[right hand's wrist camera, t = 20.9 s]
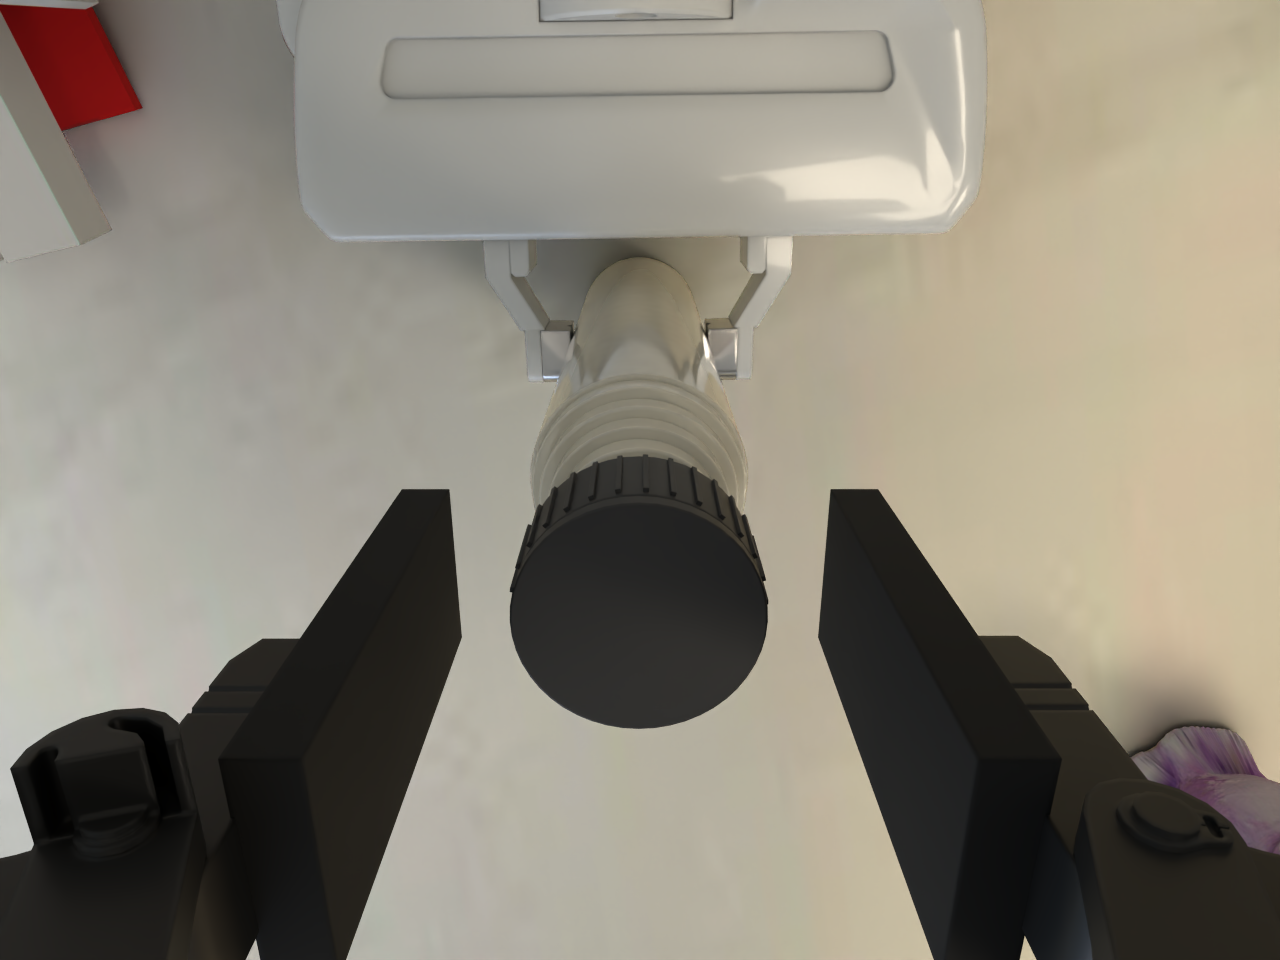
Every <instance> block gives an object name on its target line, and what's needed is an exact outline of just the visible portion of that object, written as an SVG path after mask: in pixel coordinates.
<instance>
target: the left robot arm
mask: <svg viewBox="0 0 1280 960" xmlns="http://www.w3.org/2000/svg"><path fill="white" fill-rule="evenodd" d="M276 4H277V11H278V18H279V24H280V29H281V32H282V35H283V38H284V41H285V44H286V46H287V48H288V49H289V51H290V53H291V54H292V56H293V57H294V135H295V152H296V166H297V177H298V187H299V195H300V200H301V205H302V207H303V210H304V211H305V213H306V214H307V216H308V217H309V218H310V219H311V220H312V221H313V222H314V223H315V224H316V226H317V227H318V228H319V229H320V230H321V231H322V232H323V233H324V234H325V235H326V236H327V237H328V238H329V239H330V240H332V241H335V242H398V241H468V240H483V249H484V262H485V275H486V279H487V281H488V282H489V284H490V285H491V287H492V288H493V290H494V291H495V293H496V294H497V296H498V297H499V299H500V300H501V302H502V303H503V305H504V306H505V308H506V309H507V311H508V312H509V314H510V315H511V317H512V318H513V320H514V321H515V323H516V324H517V326H518V327H519V329H520V330H521V331H525V344H526V360H527V375H528V379H529V382H542V383H543V382H557V380H558V377H559V374H560V371H561V369H562V366H563V363H564V360H565V357H566V354H567V351H568V348H569V345H570V342H571V340H572V337H573V334H574V321H567V320H550V319H549V317H548V315H547V314H546V312H545V310H544V309H543V307H542V305H541V304H540V302H539V300H538V299H537V297H536V295H535V294H534V292H533V291H532V289H531V287H530V286H529V284H528V282H527V281H526V279H525V277H527V275H528V274H529V273H530V272H531V271H532V270H533V268H534V267H535V266H536V265H537V255H536V240H539V239H609V238H680V237H740V262H741V263H742V264H743V266H744V267H745V268H746V269H747V270H748V271H749V272H750V273H751V274H753V275H752V276H751V278H750V280H749V282H748V283H747V285H746V287H745V289H744V290H743V292H742V294H741V295H740V297H739V299H738V301H737V302H736V304H735V306H734V308H733V309H732V311H731V313H730V314H729V318H712V319H705V329H704V331H705V334H706V337H707V340H708V343H709V346H710V349H711V352H712V355H713V358H714V361H715V364H716V367H717V370H718V373H719V375H720V378H721V380H735V379H736V380H748V379H751V375H752V365H753V335H754V328H757V327H758V326H759V325H760V323H761V321H762V320H763V318H764V317H765V315H766V313H767V312H768V310H769V309H770V307H771V305H772V304H773V302H774V301H775V299H776V297H777V296H778V294H779V293H780V291H781V289H782V288H783V286H784V285H785V283H786V282H787V280H788V278H789V277H790V275H791V267H792V248H793V236H820V235H891V234H942V233H946V232H948V231H950V230H951V229H952V228H953V227H954V226H955V225H956V224H957V223H958V222H959V220H960V219H961V218H962V217H963V216H964V215H965V213H966V212H967V211H968V210H969V208H970V207H971V206H972V205H973V203H974V202H975V200H976V198H977V196H978V193H979V189H980V183H981V176H982V170H983V160H984V149H985V135H986V118H987V83H988V68H987V31H986V20H985V13H984V8H983V4H982V0H276Z"/></svg>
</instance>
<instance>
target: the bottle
mask: <svg viewBox="0 0 1280 960" xmlns="http://www.w3.org/2000/svg"><path fill="white" fill-rule="evenodd" d="M643 454H647V455H648V457H656V458H661V459H667V460H668V458H672V459H673V460H674V462H677V463H680V464H683V465H686V466H688V467H690V468H691V467H692V466H694V467H696V468H697V471H699V472H700V473H702V474H703V475H705V476H706V477H708V478H710V479H711V480H713V479H715V480H717V481H718V485H719V487H720V488H722V489H723V490H724V492H725V493H726V494H727V495H728V496H731V495H732V496H733V497H734V498H735V502H736V506H737V508H738V510H739V511H740V513H741V515H742V513H743V509H744V505H745V499H746V492H747V483H748V466H747V459H746V454H745V449H744V446H743V444H742V441H741V438H740V435H739V432H738V429H737V426H736V423H735V420H734V417H733V414H732V411H731V408H730V405H729V402H728V399H727V396H726V393H725V390H724V387H723V384H722V381H721V378H720V375H719V373H718V370H717V367H716V364H715V361H714V358H713V355H712V352H711V349H710V346H709V343H708V340H707V337H706V334H705V331H704V328H703V325H702V322H701V319H700V316H699V313H698V310H697V307H696V305H695V302H694V299H693V296H692V293H691V290H690V288H689V286H688V284H687V283H686V281H685V280H684V279H683V277H682V276H681V275H680V274H679V273H678V272H677V271H676V270H674V269H673V268H672V267H670V266H669V265H667V264H665V263H663V262H661V261H658V260H655V259H651V258H646V257H635V258H628V259H624V260H621V261H618V262H616V263H614V264H612V265H610V266H609V267H608V268H606V269H605V270H604V271H602V272H601V273H600V274H599V275H598V277H597V278H596V279H595V280H594V282H593V283H592V285H591V287H590V289H589V291H588V293H587V296H586V299H585V302H584V305H583V308H582V311H581V313H580V316H579V319H578V322H577V325H576V328H575V331H574V334H573V337H572V340H571V342H570V345H569V348H568V351H567V354H566V357H565V360H564V363H563V366H562V369H561V371H560V374H559V377H558V380H557V383H556V386H555V389H554V392H553V395H552V398H551V400H550V403H549V406H548V409H547V412H546V415H545V418H544V421H543V424H542V427H541V429H540V432H539V435H538V438H537V441H536V444H535V448H534V451H533V455H532V461H531V488H532V496H533V503H534V508H535V512H536V508H537V506H538V505H539V504H540V505H543V503H544V502H545V501H546V499H547V498H548V497H549V496H550V493H551V489H552V488H553V487H554V486H555V487H559V486H560V485H561V484H562V483H563V482H564V481H566V480H567V479H568V478H570V474H571V473H573V472H575V473H578V472H579V471H581V470H583V469H585V468H588V467H590V466H592V464H593V462H596V461H598V463H600V462H604V461H607V460H611V459H616V458H617V456H621V455H622V456H623V457H634V456H643Z"/></svg>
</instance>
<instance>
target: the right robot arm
mask: <svg viewBox="0 0 1280 960" xmlns="http://www.w3.org/2000/svg"><path fill="white" fill-rule="evenodd" d="M461 638H462V634H461V622H460V610H459V599H458V587H457V575H456V563H455V551H454V539H453V527H452V516H451V504H450V492H449V489H402V490H401V491H400V493H399V494H398V496H397V497H396V499H395V500H394V502H393V503H392V505H391V506H390V508H389V509H388V510H387V512H386V513H385V515H384V516H383V518H382V519H381V521H380V522H379V524H378V525H377V527H376V528H375V530H374V531H373V532H372V534H371V535H370V537H369V538H368V540H367V541H366V543H365V544H364V546H363V547H362V549H361V550H360V551H359V553H358V554H357V556H356V557H355V559H354V560H353V562H352V563H351V565H350V566H349V568H348V569H347V571H346V572H345V573H344V575H343V576H342V578H341V579H340V581H339V582H338V584H337V585H336V587H335V588H334V590H333V591H332V592H331V594H330V595H329V597H328V598H327V600H326V601H325V603H324V604H323V606H322V607H321V609H320V610H319V611H318V613H317V614H316V616H315V617H314V619H313V620H312V622H311V623H310V625H309V626H308V628H307V629H306V631H305V632H304V633H303V635H302V636H301V638H300V639H261V640H260V641H258V642H257V643H255V644H254V645H252V646H251V647H249V648H248V649H246V650H245V651H243V652H242V653H240V654H239V655H237V656H236V657H234V658H233V659H231V660H230V661H229V662H228V663H227V664H226V666H225V667H224V668H223V669H222V671H221V672H220V673H219V674H218V676H217V677H216V678H215V680H214V681H213V682H212V683H211V685H210V686H209V691H208V692H204V693H203V695H202V696H201V697H200V699H199V700H198V701H197V702H196V704H195V705H194V706H193V707H192V713H188V714H187V715H186V716H185V718H184V719H183V720H182V721H181V723H180V724H179V723H178V722H176V721H175V720H174V719H173V718H172V717H170V716H169V715H168V714H167V713H165V712H160V711H155V710H150V709H145V708H136V709H120V710H112V711H108V712H104V713H100V714H96V715H92V716H88V717H85V718H81V719H79V720H77V721H75V722H72V723H70V724H68V725H66V726H63V727H61V728H59V729H57V730H54V731H52V732H51V733H49V734H48V735H46V736H45V737H43V738H42V739H40V740H39V741H37V742H36V743H35V744H33V745H32V746H30V747H29V748H27V749H26V750H25V751H24V753H23V754H22V755H21V756H20V757H19V759H18V760H17V761H16V762H15V763H14V765H13V766H12V767H11V768H10V770H11V773H12V776H13V779H14V782H15V785H16V788H17V792H18V795H19V798H20V801H21V804H22V807H23V811H24V814H25V817H26V820H27V823H28V826H29V829H30V833H31V836H32V839H33V842H34V846H33V848H32V850H31V851H28V852H24V853H21V854H17V855H13V856H9V857H4V858H0V960H246V958H247V956H248V954H249V952H250V949H251V947H252V945H253V943H254V941H255V939H256V941H257V946H258V950H259V955H260V960H346V958H347V956H348V953H349V950H350V947H351V944H352V942H353V939H354V936H355V933H356V930H357V928H358V925H359V922H360V919H361V917H362V914H363V911H364V908H365V905H366V903H367V900H368V897H369V894H370V891H371V889H372V886H373V883H374V880H375V878H376V875H377V872H378V869H379V866H380V864H381V861H382V858H383V855H384V852H385V850H386V847H387V844H388V841H389V839H390V836H391V833H392V830H393V827H394V825H395V822H396V819H397V816H398V814H399V811H400V808H401V805H402V802H403V800H404V797H405V794H406V791H407V788H408V786H409V783H410V780H411V777H412V775H413V772H414V769H415V766H416V763H417V761H418V758H419V755H420V752H421V749H422V747H423V744H424V741H425V738H426V736H427V733H428V730H429V727H430V724H431V722H432V719H433V716H434V713H435V710H436V708H437V705H438V702H439V699H440V697H441V694H442V691H443V688H444V685H445V683H446V680H447V677H448V674H449V671H450V669H451V666H452V663H453V660H454V658H455V655H456V652H457V649H458V646H459V644H460V641H461ZM818 638H819V641H820V644H821V646H822V649H823V652H824V655H825V658H826V660H827V663H828V666H829V669H830V671H831V674H832V677H833V680H834V683H835V685H836V688H837V691H838V694H839V697H840V699H841V702H842V705H843V708H844V710H845V713H846V716H847V719H848V722H849V724H850V727H851V730H852V733H853V736H854V738H855V741H856V744H857V747H858V749H859V752H860V755H861V758H862V761H863V763H864V766H865V769H866V772H867V775H868V777H869V780H870V783H871V786H872V788H873V791H874V794H875V797H876V800H877V802H878V805H879V808H880V811H881V814H882V816H883V819H884V822H885V825H886V827H887V830H888V833H889V836H890V839H891V841H892V844H893V847H894V850H895V852H896V855H897V858H898V861H899V864H900V866H901V869H902V872H903V875H904V878H905V880H906V883H907V886H908V889H909V891H910V894H911V897H912V900H913V903H914V905H915V908H916V911H917V914H918V917H919V919H920V922H921V925H922V928H923V930H924V933H925V936H926V939H927V942H928V944H929V947H930V950H931V953H932V956H933V958H934V960H1020V955H1021V950H1022V946H1023V941H1024V936H1025V937H1026V939H1027V941H1028V943H1029V945H1030V947H1031V949H1032V951H1033V953H1034V955H1035V957H1036V959H1037V960H1280V855H1279V854H1275V853H1270V852H1266V851H1262V850H1259V849H1255V848H1252V847H1248V846H1247V844H1246V842H1245V841H1244V839H1243V838H1242V837H1241V835H1240V834H1239V832H1238V831H1237V830H1236V828H1235V827H1234V825H1233V824H1232V822H1230V821H1229V820H1228V819H1227V818H1225V817H1224V816H1223V815H1222V814H1220V813H1219V812H1218V811H1217V810H1215V809H1214V808H1213V807H1211V806H1210V805H1209V804H1208V803H1206V802H1204V801H1202V800H1200V799H1198V798H1196V797H1194V796H1192V795H1190V794H1188V793H1186V792H1184V791H1182V790H1180V789H1178V788H1175V787H1171V786H1168V785H1164V784H1161V783H1157V782H1154V781H1151V780H1148V779H1147V778H1146V776H1145V775H1144V774H1143V773H1142V771H1141V770H1140V769H1139V768H1138V766H1137V765H1136V764H1135V763H1134V761H1133V760H1132V759H1131V758H1130V756H1129V755H1128V754H1127V753H1126V751H1125V750H1124V749H1123V747H1122V746H1121V745H1120V744H1119V742H1118V741H1117V740H1116V739H1115V737H1114V736H1113V735H1112V734H1111V732H1110V731H1109V730H1108V729H1107V727H1106V726H1105V725H1104V724H1103V722H1102V721H1101V720H1100V719H1099V717H1098V716H1097V715H1096V714H1095V712H1094V711H1093V710H1089V707H1088V706H1089V705H1088V703H1087V702H1086V701H1085V700H1084V698H1083V697H1082V696H1081V695H1080V693H1079V692H1078V691H1077V690H1076V689H1072V686H1071V685H1072V683H1071V682H1070V681H1069V680H1068V678H1067V677H1066V676H1065V675H1064V673H1063V672H1062V671H1061V670H1060V668H1059V667H1058V666H1057V665H1056V663H1055V662H1054V661H1053V659H1052V658H1051V657H1049V656H1048V655H1046V654H1045V653H1043V652H1042V651H1040V650H1038V649H1037V648H1035V647H1034V646H1032V645H1031V644H1029V643H1028V642H1026V641H1025V640H1023V639H1022V638H1020V637H1019V636H978V635H977V633H976V632H975V631H974V629H973V628H972V626H971V625H970V623H969V622H968V620H967V619H966V617H965V616H964V614H963V613H962V611H961V610H960V609H959V607H958V606H957V604H956V603H955V601H954V600H953V598H952V597H951V595H950V594H949V592H948V591H947V590H946V588H945V587H944V585H943V584H942V582H941V581H940V579H939V578H938V576H937V575H936V573H935V572H934V571H933V569H932V568H931V566H930V565H929V563H928V562H927V560H926V559H925V557H924V556H923V554H922V553H921V551H920V550H919V549H918V547H917V546H916V544H915V543H914V541H913V540H912V538H911V537H910V535H909V534H908V532H907V531H906V530H905V528H904V527H903V525H902V524H901V522H900V521H899V519H898V518H897V516H896V515H895V513H894V512H893V510H892V509H891V508H890V506H889V505H888V503H887V502H886V500H885V499H884V497H883V496H882V494H881V493H880V491H879V490H878V489H831V492H830V504H829V515H828V527H827V539H826V551H825V563H824V575H823V587H822V599H821V610H820V622H819V634H818Z"/></svg>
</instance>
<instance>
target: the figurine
mask: <svg viewBox="0 0 1280 960" xmlns="http://www.w3.org/2000/svg"><path fill="white" fill-rule="evenodd" d="M1131 759H1132V760H1133V761H1134V763H1135V764H1136V765H1137V766H1138V768H1139V769H1140V770H1141V771H1142V773H1143V774H1144V775H1145V776H1146V778H1147V779H1148V780H1151V781H1154V782H1157V783H1161V784H1164V785H1168V786H1171V787H1175V788H1178V789H1180V790H1182V791H1184V792H1186V793H1188V794H1190V795H1192V796H1194V797H1196V798H1198V799H1200V800H1202V801H1204V802H1206V803H1208V804H1209V805H1210V806H1211V807H1213V808H1214V809H1215V810H1217V811H1218V812H1219V813H1220V814H1222V815H1223V816H1224V817H1225V818H1227V819H1228V820H1229V821H1230V822H1232V824H1233V825H1234V827H1235V828H1236V830H1237V831H1238V832H1239V834H1240V835H1241V837H1242V838H1243V839H1244V841H1245V842H1246V844H1247V846H1248V847H1252V848H1255V849H1259V850H1262V851H1266V852H1270V853H1275V854H1279V855H1280V783H1277V782H1274V781H1271V780H1268V779H1267V778H1266V777H1265V776H1264V775H1263V774H1261V773H1260V771H1259V770H1258V768H1257V766H1256V763H1255V761H1254V759H1253V757H1252V755H1251V753H1250V751H1249V749H1248V747H1247V745H1246V743H1245V741H1244V740H1243V739H1242V738H1241V737H1240V736H1239V735H1238V734H1237V733H1235V732H1231V731H1230V729H1229V730H1227V729H1220V728H1218V729H1215V728H1211V729H1210V728H1209V727H1207V728H1205V727H1199V726H1196V727H1194V726H1190V727H1185V726H1184V727H1182V728H1180V729H1177V728H1176V729H1174V730H1172V731H1170V732H1169V733H1167V734H1166V735H1165V736H1164V738H1162V739H1161V740H1160V741H1159V742H1158V743H1157V745H1156V746H1155V747H1153V748H1152V749H1150V750H1147V751H1145V752H1139V753H1137V754H1135V755H1134V756H1132V757H1131Z"/></svg>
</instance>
